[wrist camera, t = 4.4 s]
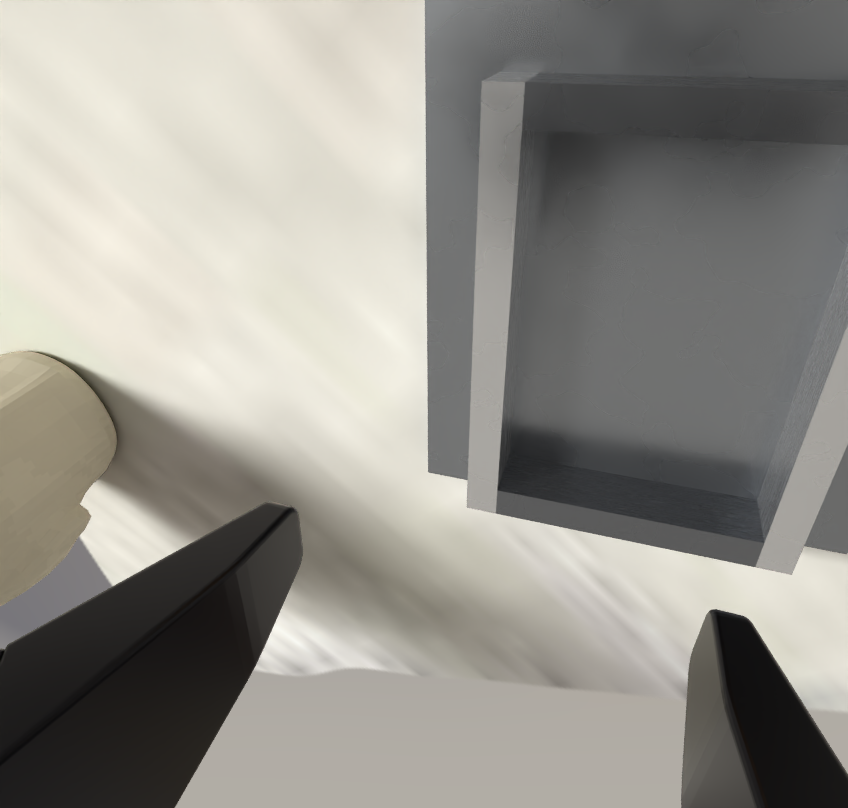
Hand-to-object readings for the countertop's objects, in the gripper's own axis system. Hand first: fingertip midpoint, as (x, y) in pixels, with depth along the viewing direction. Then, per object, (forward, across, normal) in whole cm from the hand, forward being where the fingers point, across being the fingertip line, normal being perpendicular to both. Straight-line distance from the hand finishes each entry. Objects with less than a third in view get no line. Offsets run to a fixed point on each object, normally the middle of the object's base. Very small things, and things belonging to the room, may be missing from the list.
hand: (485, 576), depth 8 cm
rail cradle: (+13, -2, -2) cm, 13 cm away
